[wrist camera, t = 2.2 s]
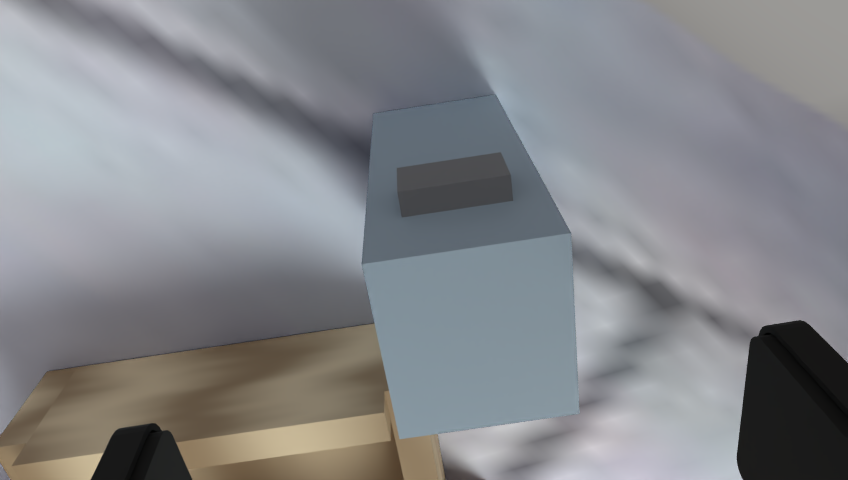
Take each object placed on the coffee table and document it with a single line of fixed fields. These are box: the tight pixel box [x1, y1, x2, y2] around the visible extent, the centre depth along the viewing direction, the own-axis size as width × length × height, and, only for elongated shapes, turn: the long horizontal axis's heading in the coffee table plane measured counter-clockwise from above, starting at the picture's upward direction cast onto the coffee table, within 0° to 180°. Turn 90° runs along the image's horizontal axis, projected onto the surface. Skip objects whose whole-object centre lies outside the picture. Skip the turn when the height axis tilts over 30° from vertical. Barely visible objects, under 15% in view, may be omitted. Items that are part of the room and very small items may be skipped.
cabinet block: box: [362, 95, 579, 439], centre depth 18 cm, size 4×5×10 cm
